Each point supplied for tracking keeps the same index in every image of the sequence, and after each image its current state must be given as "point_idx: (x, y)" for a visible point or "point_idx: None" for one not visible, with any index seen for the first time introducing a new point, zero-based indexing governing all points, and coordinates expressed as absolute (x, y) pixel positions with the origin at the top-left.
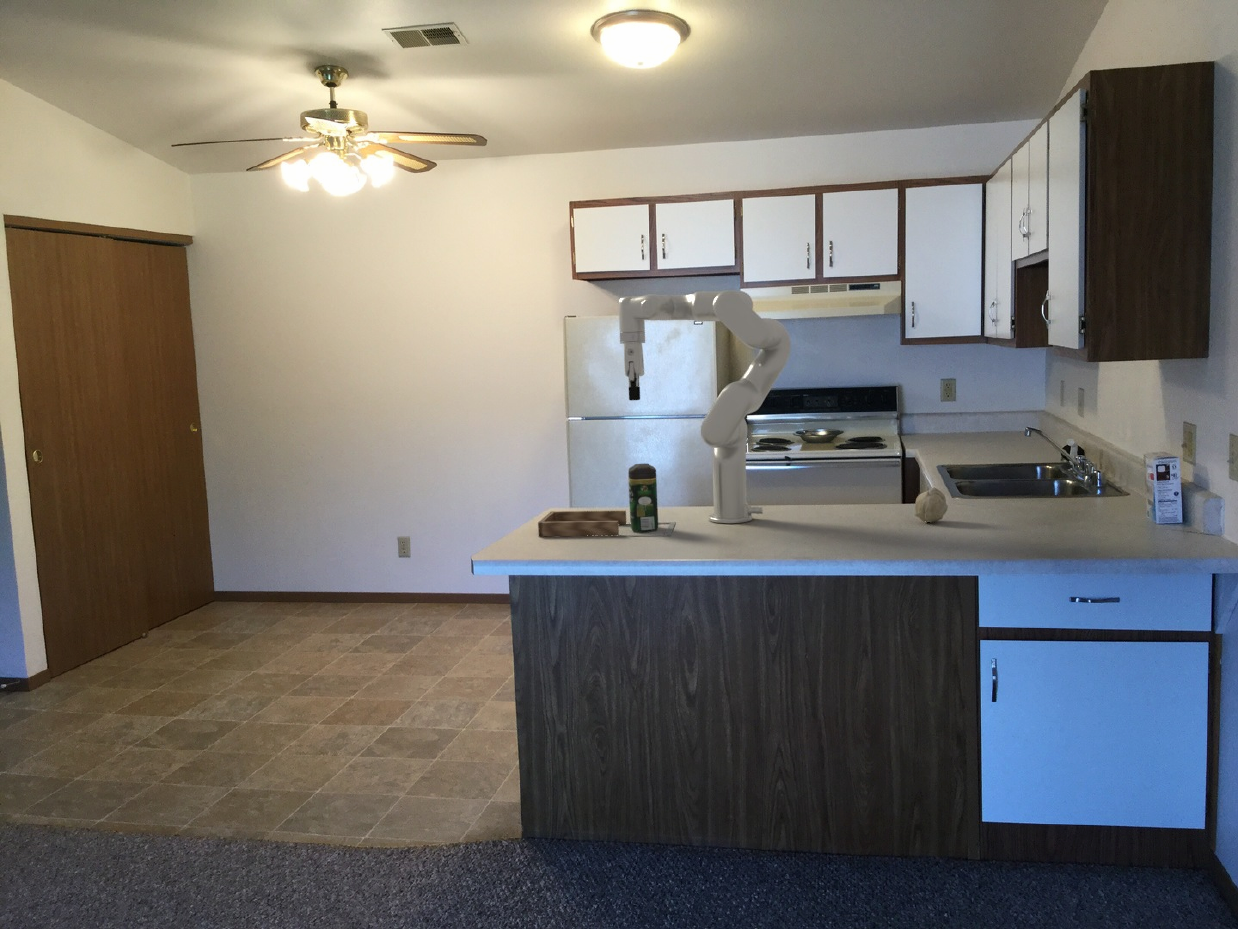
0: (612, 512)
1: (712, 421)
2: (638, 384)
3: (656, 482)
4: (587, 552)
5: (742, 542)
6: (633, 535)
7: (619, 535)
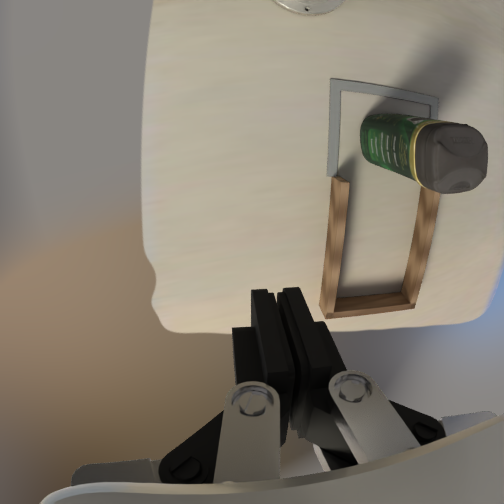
0: (346, 208)
1: None
2: (280, 400)
3: (447, 121)
4: (495, 213)
5: (470, 10)
6: None
7: None
